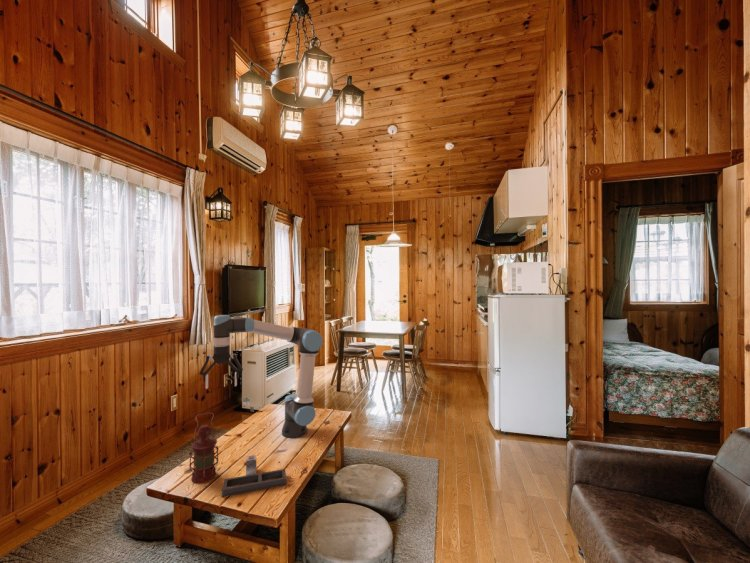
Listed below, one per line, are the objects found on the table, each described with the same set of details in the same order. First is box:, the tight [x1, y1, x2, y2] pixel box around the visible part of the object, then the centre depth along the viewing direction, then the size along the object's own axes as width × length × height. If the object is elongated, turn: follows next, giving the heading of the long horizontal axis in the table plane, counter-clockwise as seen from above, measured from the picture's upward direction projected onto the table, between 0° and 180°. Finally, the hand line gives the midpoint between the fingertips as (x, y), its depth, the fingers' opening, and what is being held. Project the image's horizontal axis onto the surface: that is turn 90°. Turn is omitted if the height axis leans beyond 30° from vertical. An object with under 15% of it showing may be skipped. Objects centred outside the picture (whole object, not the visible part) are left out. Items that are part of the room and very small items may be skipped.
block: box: [245, 454, 257, 476], centre depth 160 cm, size 4×4×7 cm
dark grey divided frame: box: [221, 468, 287, 498], centre depth 149 cm, size 26×8×3 cm, turn 109°
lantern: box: [189, 412, 219, 484], centre depth 156 cm, size 12×12×30 cm
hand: (221, 386), depth 169 cm, fingers open, 13 cm apart
